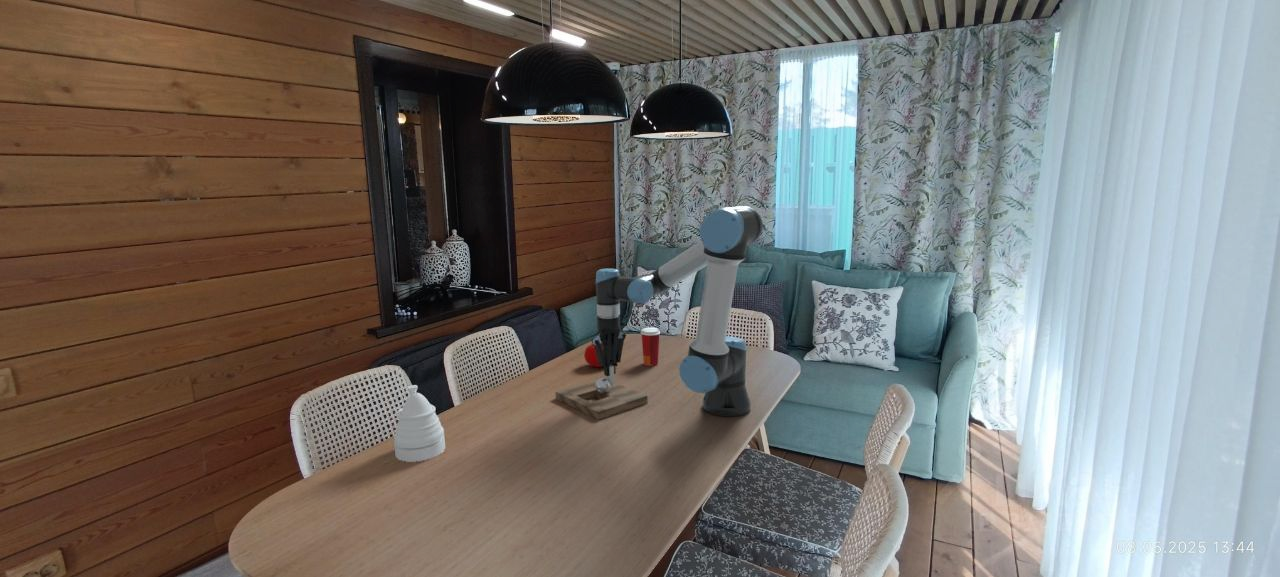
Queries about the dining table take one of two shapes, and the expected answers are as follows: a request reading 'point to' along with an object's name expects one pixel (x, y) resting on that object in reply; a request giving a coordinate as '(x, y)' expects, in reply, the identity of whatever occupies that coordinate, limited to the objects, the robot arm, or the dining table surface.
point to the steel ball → (602, 385)
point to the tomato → (591, 356)
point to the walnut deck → (601, 399)
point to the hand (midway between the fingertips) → (610, 384)
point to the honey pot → (418, 430)
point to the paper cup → (650, 345)
